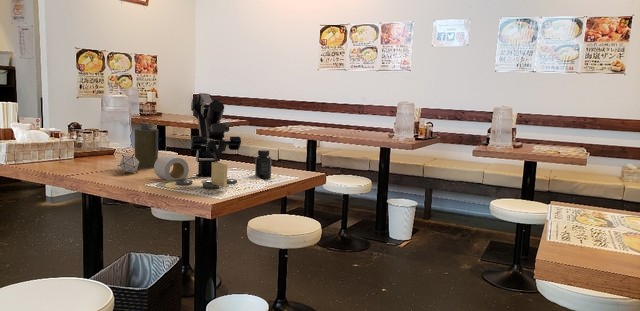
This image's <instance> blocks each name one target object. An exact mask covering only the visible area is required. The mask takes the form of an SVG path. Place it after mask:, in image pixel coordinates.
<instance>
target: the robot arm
mask: <svg viewBox="0 0 640 311" xmlns="http://www.w3.org/2000/svg"><path fill="white" fill-rule="evenodd" d="M190 103H191V104H190V110H191V111H192V114H193V117H195V118H196V119H197V124H198V132H199V135H192V137H191V140H190V150H191V151H196V154H195V161H196V162H197V163H198V165H197V166H198V168H197V169H198V172H197V174H195V176H198V177H202V178H211V174H212V162H218V163H219V162H220V161H221V157H222V153H224V152H225V151H226V148H227V146H228V149H229V150H230V151H238V150H240V147H241V143H242V138H241V136H231V135H230V137H229V139H224V138H225V133H228V132H229V131H230V124H229V122H223V123H221V120H222V118H223V114H224V112H225V105H224V104H223V103H222V102H221V101H219V99H216V98H215V99H212V98H211V94H210V93H205V92H203V93H202V92H199V93H197V96H194V98H192V100H191V102H190Z"/></svg>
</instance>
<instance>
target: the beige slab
mask: <svg viewBox="0 0 640 311" xmlns="http://www.w3.org/2000/svg"><path fill="white" fill-rule="evenodd" d="M210 178H211V179H210V181H211V182H204V183H202V188H203V189H206V190H217V189H220V187H223V188H226V187H228V184H227V179H228V164H227V163H221V162H219V161H218V162H212V174H211V177H210Z"/></svg>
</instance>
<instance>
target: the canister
mask: <svg viewBox="0 0 640 311" xmlns="http://www.w3.org/2000/svg"><path fill="white" fill-rule="evenodd" d="M139 125H140V128H134V129H133V130H134V157H135V158H136V159H137V160H138V161H139V162H140V161H141V163H139V166H138V168H137V169H154V164H155V162H156V160H157V159H158V158H159V129H158V128H152V123H151V122H149V123H148V122H140V124H139Z"/></svg>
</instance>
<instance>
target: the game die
mask: <svg viewBox="0 0 640 311" xmlns="http://www.w3.org/2000/svg"><path fill="white" fill-rule="evenodd" d="M121 156H122V158H121V161H120V163H119V165H118V164H117V167H120V168H121V169H122V170H123V171H124V174H125V175H126V174H127V173H136V174H138V171H137V170H138V169H139V168H138V166H139V163H141V161H140V162H139V161H138V160H137V159H136V158H135V153H133V154H132V155H124V154H122V155H121Z"/></svg>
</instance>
